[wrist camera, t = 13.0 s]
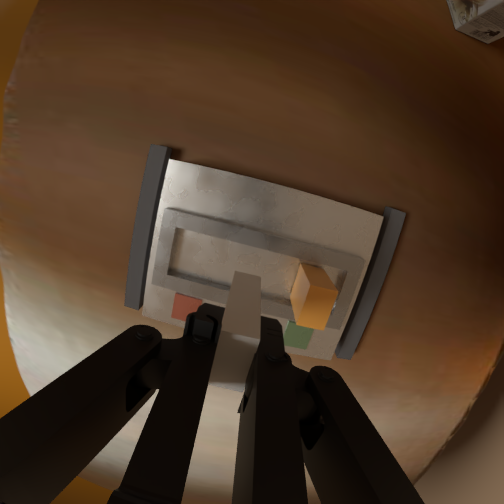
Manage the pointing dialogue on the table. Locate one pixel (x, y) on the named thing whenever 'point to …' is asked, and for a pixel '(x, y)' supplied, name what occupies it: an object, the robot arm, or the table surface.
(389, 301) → the table surface
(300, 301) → the lever
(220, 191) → the panel
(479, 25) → the coffee box
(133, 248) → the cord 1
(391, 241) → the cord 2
